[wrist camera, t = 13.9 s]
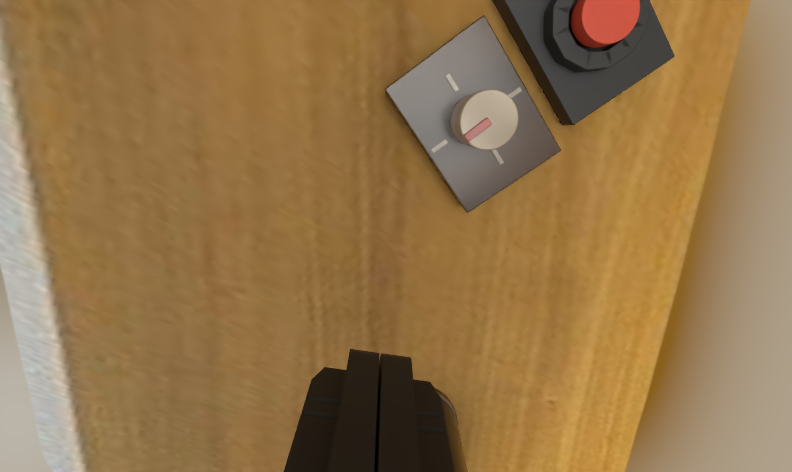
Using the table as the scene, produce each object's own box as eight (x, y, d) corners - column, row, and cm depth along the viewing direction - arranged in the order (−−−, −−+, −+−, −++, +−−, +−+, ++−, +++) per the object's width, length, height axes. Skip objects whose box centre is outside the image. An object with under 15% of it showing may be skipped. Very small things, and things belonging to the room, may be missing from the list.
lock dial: (482, 82, 30) (498, 75, 26) (510, 125, 31) (531, 126, 27) (440, 115, 31) (449, 114, 26) (468, 156, 32) (482, 162, 27)
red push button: (634, 25, 29) (650, 19, 27) (586, 59, 29) (598, 56, 28) (610, -26, 28) (624, -36, 26) (560, 10, 28) (571, 3, 27)
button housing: (656, 60, 33) (692, 52, 29) (561, 125, 34) (583, 125, 30) (591, -80, 30) (620, -109, 26) (490, -4, 31) (504, -21, 27)
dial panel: (547, 148, 35) (562, 150, 32) (461, 205, 36) (467, 213, 33) (475, 24, 32) (484, 13, 29) (385, 91, 33) (384, 89, 30)
